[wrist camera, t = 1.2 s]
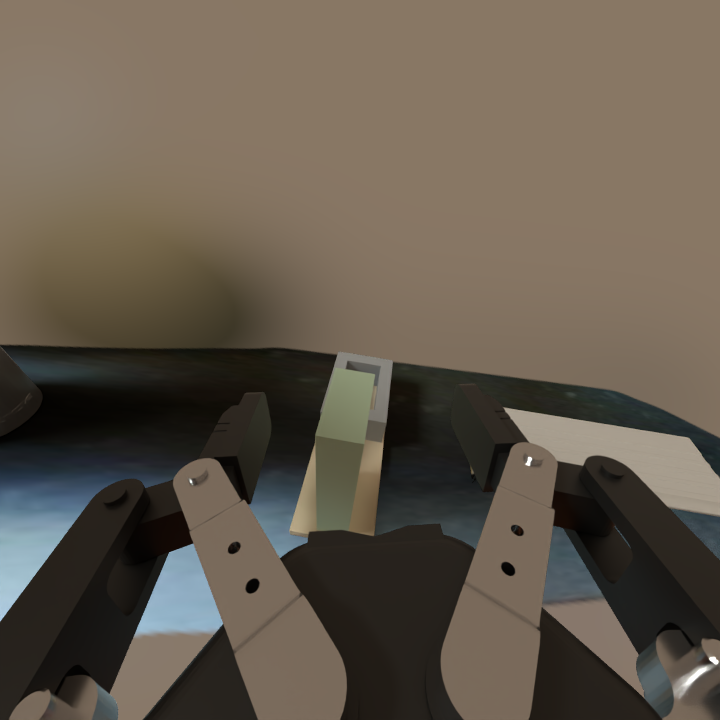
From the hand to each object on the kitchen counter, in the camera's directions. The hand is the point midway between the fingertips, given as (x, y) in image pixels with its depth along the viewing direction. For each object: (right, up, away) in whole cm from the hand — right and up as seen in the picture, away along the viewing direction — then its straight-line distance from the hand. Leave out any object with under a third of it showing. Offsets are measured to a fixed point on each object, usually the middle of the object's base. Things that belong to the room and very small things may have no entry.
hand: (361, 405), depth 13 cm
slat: (-2, -13, +18) cm, 22 cm away
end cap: (0, -4, +28) cm, 28 cm away
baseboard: (+29, -12, +26) cm, 41 cm away
